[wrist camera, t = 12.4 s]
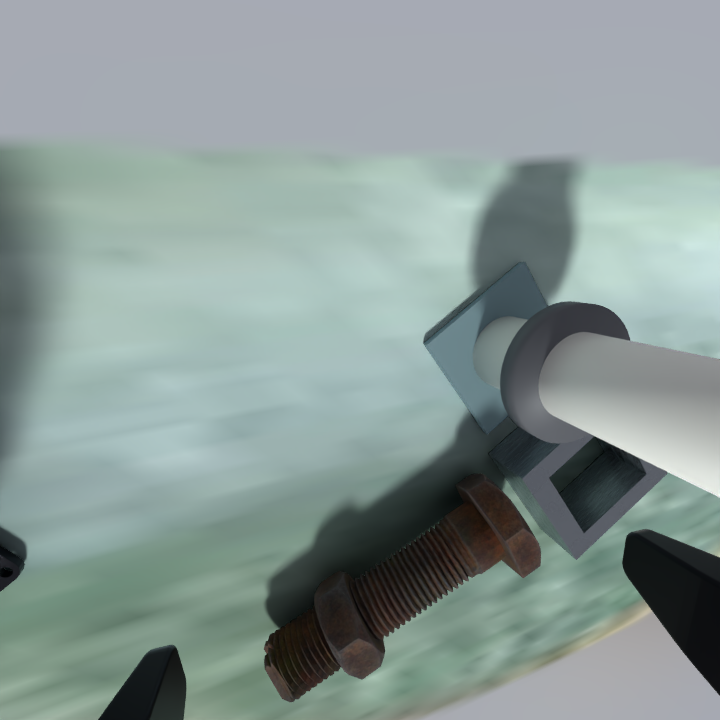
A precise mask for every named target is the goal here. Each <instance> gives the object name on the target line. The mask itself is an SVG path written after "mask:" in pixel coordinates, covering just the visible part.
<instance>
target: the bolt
mask: <svg viewBox="0 0 720 720" xmlns="http://www.w3.org/2000/svg"><path fill="white" fill-rule="evenodd" d="M455 486H456V488H457V490H458V492H459V494H460V496H461V498H462V500H463V502H464V503H463V504H462V505H460V506H459V507H457V508H456V509H454V510H453V511H451V512H450V513H448V514H447V515H445V516H444V518H443V519H442V520H441V521H440V522H439V524H435V529H434V528H433V527H430V532H429V531H427V530H426V531H425V535H423V534H422V533H421V537H420V538H419V537H416V542H415V541H413V540H411V545H409V544H408V543H407V544H406V549H405V548H403V547H401V551H400V552H399V551H397V550H396V551H395V555H394V554H391V557H390V559H389V558H387V557H386V558H385V562H384V561H382V560H381V561H380V565H378V564H376V565H375V569H374V568H372V567H370V572H368V571H365V576H364V575H362V574H360V579H358V578H356V577H355V581H354V580H353V579H352V577H351V576H350V575H349V574H348V573H345V572H342V571H337V572H336V573H334V574H333V575H332V576H330V577H329V578H327V579H326V580H324V581H323V582H321V583H320V585H319V586H318V588H317V590H316V592H315V595H314V604H315V605H314V606H313V610H312V609H308V611H307V613H304V612H303V614H302V616H298V617H297V620H296V619H293V620H292V621H291V623H287V624H286V626H285V627H284V626H283V627H281V628H280V629H278V630H276V631H275V633H272V634H270V636H269V639H268V641H266V644H265V647H264V650H265V652H266V653H267V654H266V655H265V660H264V664H265V670H266V672H267V674H268V675H269V677H270V679H271V681H272V682H273V684H274V686H275V687H276V689H277V691H278V692H279V694H280V696H281V697H282V699H284V700H286V701H289V702H294V700H295V699H299V698H300V697H301V696H302V695H304V694H305V693H306V691H310V690H311V688H312V687H315V686H317V683H321V682H322V681H323V679H327V678H328V676H329V675H330V676H331V675H333V674H334V671H339V669H340V667H342V668H343V670H344V671H345V672H346V673H347V674H349V675H351V676H354V677H357V678H359V679H364V678H365V677H366V676H368V675H369V674H371V673H372V672H373V671H375V670H376V669H378V668H379V667H381V664H382V661H383V658H384V654H385V647H384V642H383V638H384V635H385V636H387V637H388V636H389V631H390V632H392V633H394V627H395V628H397V629H399V628H400V624H402V625H405V620H407V621H411V617H413V618H415V617H416V612H417V613H418V614H421V608H422V609H423V610H427V605H428V606H432V602H435V603H437V598H439V599H442V594H444V595H446V596H447V595H448V593H447V590H449V591H451V592H453V587H455V588H458V584H457V583H459V584H461V585H463V580H465V581H469V579H468V576H470V577H472V578H473V577H474V576H475V575H477V574H482V573H483V572H485V571H486V570H488V569H489V568H491V567H492V566H494V565H495V564H496V563H498V562H499V561H501V560H502V561H503V562H505V563H506V564H507V565H508V566H509V567H510V568H512V569H513V570H514V571H515V572H516V573H518V574H519V575H520V576H521V577H522V578H524V577H526V576H527V575H528V574H530V573H531V572H533V571H534V570H535V569H537V568H538V567H540V563H541V551H540V546H539V543H538V541H537V540H536V538H535V536H534V535H533V533H532V531H531V530H530V528H529V526H528V525H527V523H526V521H525V520H524V518H523V517H522V516H521V514H520V513H519V511H518V510H517V508H516V507H515V505H514V504H513V503H512V501H511V500H510V499H509V498H508V497H507V496H506V495H505V494H504V493H503V491H502V490H501V489H500V488H499V487H498V486H497V485H496V484H495V483H494V482H493V481H491V480H490V479H489V478H488V477H486V476H485V475H484V474H481V473H478V474H472V475H470V476H468V477H467V478H465V479H464V480H462V481H461V482H459V483H458V484H456V485H455ZM452 586H453V587H452Z"/></svg>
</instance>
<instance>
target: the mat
mask: <svg viewBox="0 0 720 720" xmlns="http://www.w3.org/2000/svg"><path fill="white" fill-rule="evenodd" d="M546 307H547V305H546V303H545V301H544V299H543V297H542V295H541V293H540V291H539V289H538V287H537V285H536V283H535V281H534V279H533V277H532V275H531V273H530V271H529V269H528V267H527V265H526V263H525V262H519V263H518V264H517V265H516V266H515V267H514V268H512V269H511V270H510V271H509V272H508V273H506V274H505V275H504V276H503V277H502V278H501V279H499V280H498V281H497V282H496V283H495V284H493V285H492V286H491V287H490V288H489V289H487V290H486V291H485V292H484V293H483V294H482V295H480V296H479V297H478V298H477V299H476V300H474V301H473V302H472V303H471V304H470V305H469V306H467V307H466V308H465V309H464V310H463V311H461V312H460V313H459V314H458V315H457V316H455V317H454V318H453V319H452V320H451V321H450V322H448V323H447V324H446V325H445V326H444V327H442V328H441V329H440V330H439V331H438V332H437V333H435V334H434V335H433V336H432V337H431V338H429V339H428V340H427V341H426V342H425V343H423V344H424V345H425V347H426V348H427V350H428V351H429V353H430V354H431V355H432V357H433V358H434V360H435V361H436V363H437V364H438V366H439V367H440V369H441V370H442V372H443V373H444V375H445V376H446V378H447V379H448V380H449V382H450V383H451V385H452V386H453V388H454V389H455V391H456V392H457V394H458V395H459V397H460V398H461V400H462V401H463V403H464V404H465V405H466V407H467V408H468V410H469V411H470V413H471V414H472V416H473V417H474V419H475V420H476V422H477V423H478V425H479V426H480V428H481V429H482V430H483V432H485V433H486V434H488V433H490V432H491V431H492V430H493V429H494V428H495V427H496V426H497V425H499V424H500V423H501V422H502V421H503V420H504V419H505V418H506V417H508V416H509V415H508V414H507V412H506V410H505V408H504V405H503V402H502V398H501V392H500V390H499V389H497V388H495V387H493V386H491V385H489V384H487V383H485V382H484V381H483V380H482V379H481V378H480V377H479V376H478V375H477V373H476V371H475V368H474V364H473V350H474V346H475V343H476V340H477V338H478V336H479V335H480V333H481V332H482V330H483V329H484V328H485V327H486V326H487V325H488V324H489V323H491V322H492V321H494V320H496V319H498V318H501V317H505V316H513V317H517V318H522V319H527V320H529V319H530V318H531V317H532V316H533V315H535V314H536V313H537V312H539V311H540V310H542V309H544V308H546Z"/></svg>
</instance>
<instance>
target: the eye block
mask: <svg viewBox="0 0 720 720" xmlns="http://www.w3.org/2000/svg"><path fill="white" fill-rule="evenodd" d="M593 437H594V436H593V435H591V434H588V435H587V436H585V437H583V438H581V439H578V440H575V441H573V442H568V443H559V444H557V443H549V442H546V441H543V440H541V439H539V438H537V437H535V436H533V435H532V434H530V433H528V432H527V431H525V430H523V429H522V428H520V427H518V428H516V429H515V430H514V431H513V432H512V433H511V434H510V435H509V436H507V437H506V438H505V439H504V440H503V441H502V442H501V443H500V444H499V445H497V446H496V447H495V448H494V449H493V450H492V451H491V452H490V453H488V454H489V455H490V456H491V458H492V459H493V461H494V462H495V464H496V465H497V467H498V468H499V469H500V471H501V472H502V474H503V475H504V477H505V478H506V479H507V481H508V482H509V484H510V485H511V487H512V488H513V490H514V491H515V492H516V494H517V495H518V497H519V498H520V500H521V501H522V503H523V504H524V505H525V507H526V508H527V510H528V511H529V513H530V514H531V515H532V517H533V518H534V520H535V521H536V523H537V524H538V526H539V527H540V528H541V530H543V531H544V532H545V533H546V534H547V535H548V536H549V537H551V538H552V539H553V540H554V541H555V542H556V543H558V544H559V545H560V546H561V547H562V548H563V549H564V550H566V551H567V552H568V553H569V554H570V555H571V556H572V557H574V558H575V559H576V560H577V559H578V558H579V557H580V556H581V555H582V554H583V553H584V552H585V551H586V550H587V549H588V548H589V547H590V546H592V545H593V544H594V543H595V542H596V541H597V540H598V539H599V538H600V537H601V536H602V535H603V534H604V533H605V532H606V531H607V530H608V529H609V528H611V527H612V526H613V525H614V524H615V523H616V522H617V521H618V520H619V519H620V518H621V517H622V516H623V515H624V514H625V513H626V512H627V511H628V510H629V509H631V508H632V507H633V506H634V505H635V504H636V503H637V502H638V501H639V500H640V499H641V498H642V497H643V496H644V495H645V494H646V493H647V492H648V491H650V490H651V489H652V488H653V487H654V486H655V485H656V484H657V483H658V482H659V481H660V480H661V479H662V478H663V477H664V476H665V475H666V474H667V471H665V470H663V469H661V468H659V467H657V466H655V465H653V464H651V463H648V462H646V461H644V460H642V459H640V458H638V457H636V456H634V455H632V454H630V453H628V452H626V451H624V450H622V449H620V448H618V447H616V446H614V445H612V444H610V443H608V442H606V441H604V440H602V439H600V438H597V439H598V441H599V443H600V445H601V447H602V449H603V451H604V453H603V454H602V455H601V456H600V457H599V458H598V459H596V460H595V461H594V462H593V463H592V464H591V465H590V466H589V467H588V468H587V469H586V470H585V471H583V472H582V473H581V474H580V475H579V476H578V477H577V478H576V479H575V480H574V481H573V482H572V483H570V484H569V485H568V486H567V487H566V488H565V489H564V490H563V491H562V492H561V493H560V494H559V493H558V491H557V490H556V488H555V487H554V485H553V484H552V482H551V480H550V479H549V477H550V476H552V475H553V474H554V473H555V472H556V471H557V470H558V469H559V468H560V467H561V466H562V465H564V464H565V463H566V462H567V461H568V460H569V459H570V458H571V457H572V456H573V455H574V454H576V453H577V452H578V451H579V450H580V449H581V448H582V447H583V446H584V445H585V444H586V443H588V442H589V441H590V440H591V439H592V438H593Z"/></svg>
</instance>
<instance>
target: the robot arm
mask: <svg viewBox="0 0 720 720" xmlns="http://www.w3.org/2000/svg"><path fill="white" fill-rule="evenodd" d="M622 564H623V569H624V572H625V574H626V575H627V577H628V578H629V580H630V581H631V582H632V584H633V585H634V587H635V588H636V589H637V591H638V592H639V593H640V595H641V596H642V597H643V599H644V600H645V602H646V603H647V604H648V606H649V607H650V608H651V610H652V611H653V612H654V614H655V615H656V616H657V618H658V619H659V621H660V622H661V623H662V625H663V626H664V627H665V629H666V630H667V631H668V633H669V634H670V635H671V637H672V638H673V639H674V641H675V642H676V643H677V645H678V646H679V647H680V649H681V650H682V651H683V653H684V654H685V655H686V656H687V658H688V659H689V660H690V661H691V662H692V664H693V665H694V666H695V667H696V668H697V670H698V671H699V672H700V673H701V674H702V675H703V677H704V678H705V679H706V680H707V681H708V682H709V684H710V685H711V686H712V687H713V688H714V690H715V691H717V693H718V694H719V695H720V557H717V556H715V555H712V554H710V553H707V552H705V551H702V550H700V549H697V548H695V547H692V546H690V545H687V544H685V543H682V542H680V541H677V540H675V539H672V538H670V537H667V536H665V535H662V534H659V533H657V532H654V531H652V530H648V529H643V530H639V531H634V532H631V533H629V534H628V535H627V537H626V542H625V548H624V555H623V562H622ZM24 565H25V564H24V561H23V560H22V559H21V558H20V557H18V556H17V555H15V554H13V553H12V552H10V551H8V550H7V549H5V548H3V547H2V546H0V591H2V590H3V589H4V588H5V587H7V586H8V585H9V584H10V583H11V582H13V581H14V580H15V579H16V578H17V577H18V576H19V575H20V573H21V572H22V570H23V569H24ZM4 567H9V568H11V569H12V571H8V570H5V569H4ZM185 699H186V678H185V674H184V671H183V667H182V664H181V660H180V657H179V654H178V650H177V648H176V647H175V646H174V645H167V646H163V647H159V648H155V649H152V650H150V651H149V652H148V653H146V655H145V656H144V657H143V658H142V660H141V661H140V663H139V664H138V665H137V667H136V668H135V669H134V671H133V672H132V674H131V675H130V676H129V678H128V679H127V681H126V682H125V683H124V685H123V686H122V687H121V689H120V690H119V692H118V693H117V694H116V696H115V697H114V698H113V700H112V701H111V703H110V704H109V705H108V707H107V708H106V709H105V711H104V712H103V714H102V715H101V716H100V718H99V719H98V720H183V719H184V709H185Z"/></svg>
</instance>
